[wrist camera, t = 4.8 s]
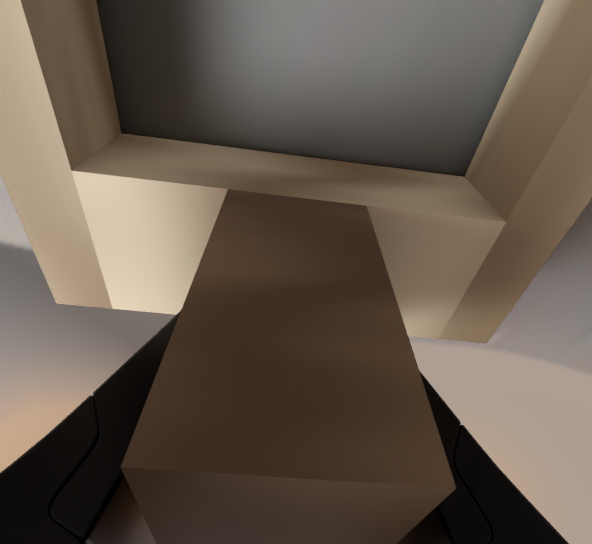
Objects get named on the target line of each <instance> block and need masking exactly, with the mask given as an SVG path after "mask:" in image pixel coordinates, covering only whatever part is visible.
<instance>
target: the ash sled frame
mask: <svg viewBox="0 0 592 544" xmlns="http://www.w3.org/2000/svg"><path fill="white" fill-rule="evenodd" d="M0 175H1V177H2V179H3V182H4V184H5V186H6V189H7V191H8V193H9V196H10V198H11V200H12V202H13V205H14V207H15V209H16V212H17V214H18V216H19V218H20V221H21V223H22V225H23V228H24V230H25V232H26V234H27V237H28V239H29V241H30V244H31V246H32V248H33V251H34V253H35V255H36V257H37V260H38V262H39V264H40V266H41V269H42V271H43V273H44V276H45V278H46V280H47V283H48V285H49V287H50V289H51V292H52V294H53V296H54V298H55V301H56V303H58V304H69V305H81V306H91V307H102V308H112V309H123V310H134V311H144V312H155V313H166V314H177V313H179V312H180V311H181V312H180V315H179V317H178V320H177V323H176V325H175V328H174V330H173V333H172V335H171V338H170V341H169V343H168V346H167V348H166V351H165V354H164V356H163V359H162V361H161V364H160V367H159V369H158V372H157V374H156V377H155V380H154V382H153V385H152V387H151V390H150V392H149V395H148V398H147V400H146V403H145V405H144V408H143V411H142V413H141V416H140V418H139V421H138V424H137V426H136V429H135V431H134V434H133V436H132V439H131V442H130V444H129V447H128V449H127V452H126V455H125V457H124V460H123V462H122V465H121V469H122V471H123V473H124V476H125V478H126V480H127V482H128V484H129V486H130V488H131V490H132V493H133V495H134V497H135V499H136V501H137V503H138V505H139V508H140V510H141V512H142V514H143V516H144V518H145V520H146V522H147V525H148V527H149V529H150V531H151V533H152V535H153V537H154V540H155V542H156V544H397V543H398V542H399V541H400V540H401V539H402V538H403V537H404V536H405V535H406V534H407V533H408V532H410V531H411V530H412V529H413V528H414V527H415V526H416V525H417V524H418V523H419V522H420V521H421V520H423V519H424V518H425V517H426V516H427V515H428V514H429V513H430V512H431V511H432V510H433V509H434V508H436V507H437V506H438V505H439V504H440V503H441V502H442V501H443V500H444V499H445V498H446V497H447V496H449V495H450V494H451V493H452V492H453V491H454V490H455V489H456V486H455V482H454V479H453V476H452V473H451V470H450V467H449V464H448V460H447V457H446V454H445V451H444V448H443V445H442V441H441V438H440V435H439V432H438V429H437V426H436V423H435V419H434V416H433V413H432V410H431V407H430V404H429V401H428V397H427V394H426V391H425V388H424V385H423V382H422V379H421V375H420V372H419V369H418V366H417V363H416V360H415V357H414V353H413V351H412V347H411V344H410V341H409V338H408V336H414V337H424V338H435V339H446V340H457V341H468V342H478V343H487V342H488V341H489V339H490V338H491V337H492V335H493V334H494V332H495V331H496V330H497V328H498V327H499V325H500V324H501V323H502V321H503V320H504V319H505V317H506V316H507V314H508V313H509V312H510V310H511V309H512V308H513V306H514V305H515V303H516V302H517V301H518V299H519V298H520V297H521V295H522V294H523V292H524V291H525V290H526V288H527V287H528V286H529V284H530V283H531V281H532V280H533V279H534V277H535V276H536V275H537V273H538V272H539V270H540V269H541V268H542V266H543V265H544V264H545V262H546V261H547V259H548V258H549V257H550V255H551V254H552V252H553V251H554V250H555V248H556V247H557V246H558V244H559V243H560V241H561V240H562V239H563V237H564V236H565V235H566V233H567V232H568V230H569V229H570V228H571V226H572V225H573V224H574V222H575V221H576V219H577V218H578V217H579V215H580V214H581V213H582V211H583V210H584V208H585V207H586V206H587V204H588V203H589V202H590V200H591V199H592V0H544V2H543V4H542V7H541V9H540V11H539V13H538V15H537V18H536V20H535V22H534V24H533V26H532V29H531V31H530V33H529V35H528V38H527V40H526V42H525V44H524V46H523V49H522V51H521V53H520V55H519V57H518V60H517V62H516V64H515V66H514V69H513V71H512V73H511V75H510V77H509V80H508V82H507V84H506V86H505V88H504V91H503V93H502V95H501V97H500V99H499V102H498V104H497V106H496V108H495V111H494V113H493V115H492V117H491V119H490V122H489V124H488V126H487V128H486V130H485V133H484V135H483V137H482V139H481V142H480V144H479V146H478V148H477V150H476V153H475V155H474V157H473V159H472V161H471V164H470V166H469V168H468V170H467V172H466V175H465V177H462V176H454V175H446V174H438V173H430V172H422V171H414V170H406V169H398V168H391V167H383V166H375V165H367V164H359V163H351V162H343V161H335V160H327V159H319V158H311V157H304V156H296V155H288V154H280V153H272V152H264V151H256V150H248V149H240V148H232V147H225V146H217V145H209V144H201V143H193V142H185V141H177V140H169V139H161V138H153V137H145V136H138V135H130V134H122V133H121V128H120V123H119V118H118V113H117V107H116V102H115V97H114V91H113V86H112V81H111V76H110V70H109V65H108V60H107V55H106V49H105V44H104V39H103V34H102V28H101V23H100V18H99V13H98V7H97V2H96V0H0Z"/></svg>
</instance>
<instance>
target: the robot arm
mask: <svg viewBox="0 0 592 544" xmlns="http://www.w3.org/2000/svg"><path fill="white" fill-rule="evenodd" d="M180 312H181V311H180ZM180 312H179V313H177V314H176V315H175V316H174V317H173V318H172V319H171V320H170V321H169V322H168V323H167V324H166V325H165V326H164V327H163V328H161V329H160V330H159V331H158V332H157V333H156V334H155V335H154V336H153V337H152V338H151V339H150V340H149V341H148V342H147V343H146V344H145V345H143V346H142V347H141V348H140V349H139V350H138V351H137V352H136V353H135V354H134V355H133V356H132V357H131V358H130V359H128V361H126V362H125V363H124V364H123V365H122V366H121V367H120V368H119V369H118V370H117V371H116V372H115V373H114V374H113V375H111V377H109V378H108V379H107V380H106V381H105V382H104V383H103V384H102V385H101V386H100V387H99V388H98V389H96V390H95V391H94V393H93V396H89V397H88V398H87V399H86V400H85V401H84V402H82V403H81V404H80V405H79V406H78V407H77V408H76V409H75V410H74V411H73V412H72V413H71V414H70V415H68V416H67V417H66V418H65V419H64V420H63V421H62V422H61V423H59V424H58V425H57V426H56V427H55V428H54V429H53V430H52V431H50V432H49V433H48V434H47V435H46V436H45V437H44V438H42V439H41V440H40V441H39V442H37V443H36V444H35V445H34V446H33V447H31V448H30V449H29V450H28V451H27V452H25V453H24V454H23V455H22V456H20V457H19V458H18V459H17V460H16V461H14V462H13V463H12V464H11V465H10V466H8V467H7V468H6V469H4V470H3V471H2V472H1V473H0V544H156V542H155V540H154V537H153V535H152V533H151V531H150V529H149V527H148V525H147V522H146V520H145V518H144V516H143V514H142V512H141V510H140V508H139V505H138V503H137V501H136V499H135V497H134V495H133V493H132V490H131V488H130V486H129V484H128V482H127V480H126V478H125V476H124V473H123V471H122V469H121V465H122V462H123V460H124V457H125V455H126V452H127V449H128V447H129V444H130V442H131V439H132V436H133V434H134V431H135V429H136V426H137V424H138V421H139V418H140V416H141V413H142V411H143V408H144V405H145V403H146V400H147V398H148V395H149V392H150V390H151V387H152V385H153V382H154V380H155V377H156V374H157V372H158V369H159V367H160V364H161V361H162V359H163V356H164V354H165V351H166V348H167V346H168V343H169V341H170V338H171V335H172V333H173V330H174V328H175V325H176V323H177V320H178V317H179V315H180ZM419 372H420V371H419ZM420 375H421V379H422V382H423V385H424V388H425V391H426V394H427V397H428V401H429V404H430V407H431V410H432V413H433V416H434V419H435V423H436V426H437V429H438V432H439V435H440V438H441V441H442V445H443V448H444V451H445V454H446V457H447V460H448V464H449V467H450V470H451V473H452V476H453V479H454V482H455V486H456V489H455V490H454V491H453V492H452V493H451V494H450V495H449V496H447V497H446V498H445V499H444V500H443V501H442V502H441V503H440V504H439V505H438V506H437V507H436V508H434V509H433V510H432V511H431V512H430V513H429V514H428V515H427V516H426V517H425V518H424V519H423V520H421V521H420V522H419V523H418V524H417V525H416V526H415V527H414V528H413V529H412V530H411V531H410V532H408V533H407V534H406V535H405V536H404V537H403V538H402V539H401V540H400V541H399V542H398V543H397V544H569V543H568V542H567V541H566V540H565V539H564V538H563V537H562V536H561V535H560V534H559V533H558V532H557V531H556V529H554V527H553V526H552V525H551V524H550V523H549V522H548V521H547V520H546V519H545V518H544V517H543V516H542V515H541V513H540V512H539V511H538V510H537V509H536V508H535V507H534V506H533V505H532V504H531V503H530V502H529V501H528V500H527V499H526V497H525V496H524V495H523V494H522V493H521V492H520V491H519V490H518V489H517V488H516V486H515V485H514V484H513V483H512V482H511V481H510V480H509V479H508V478H507V477H506V475H505V474H504V473H503V472H502V471H501V470H500V469H499V468H498V467H497V465H496V464H495V463H494V462H493V461H492V459H491V458H490V457H489V456H488V455H487V453H486V452H485V451H484V450H483V449H482V447H481V446H480V445H479V444H478V443H477V441H476V440H475V439H474V438H473V437H472V435H471V434H470V433H469V432H468V430H467V429H466V428H465V427H464V426H463V425H460V424H461V423H460V421H459V419H458V418H457V417H456V416H455V414H454V413H453V412H452V411H451V409H450V408H449V407H448V406H447V404H446V403H445V402H444V401H443V400H442V398H441V397H440V396H439V394H438V393H437V392H436V391H435V390H434V388H433V387H432V386H431V385H430V383H429V382H428V381H427V380H426V378H425V377H424V376H423V375H422V374H421V372H420Z"/></svg>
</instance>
